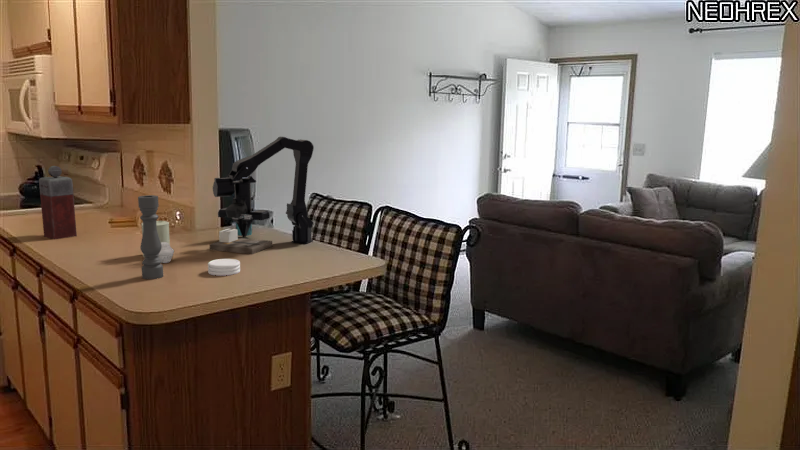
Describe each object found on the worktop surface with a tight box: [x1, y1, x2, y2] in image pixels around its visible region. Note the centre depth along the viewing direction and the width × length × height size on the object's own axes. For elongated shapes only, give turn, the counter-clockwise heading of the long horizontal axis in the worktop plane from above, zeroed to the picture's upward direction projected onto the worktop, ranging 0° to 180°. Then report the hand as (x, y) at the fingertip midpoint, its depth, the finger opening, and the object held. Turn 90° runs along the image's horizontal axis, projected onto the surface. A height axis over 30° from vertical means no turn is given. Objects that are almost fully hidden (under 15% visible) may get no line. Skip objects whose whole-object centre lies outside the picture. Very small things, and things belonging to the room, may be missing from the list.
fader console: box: [209, 237, 273, 255], centre depth 242 cm, size 18×14×2 cm
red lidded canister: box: [38, 165, 78, 240], centre depth 257 cm, size 9×11×28 cm
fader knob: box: [218, 228, 239, 243], centre depth 243 cm, size 4×6×4 cm, turn 161°
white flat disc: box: [207, 258, 241, 277], centre depth 207 cm, size 10×10×4 cm
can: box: [140, 220, 171, 258], centre depth 228 cm, size 9×9×12 cm
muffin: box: [158, 242, 175, 264], centre depth 219 cm, size 6×6×7 cm
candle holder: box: [137, 194, 164, 280], centre depth 199 cm, size 6×6×25 cm
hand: (244, 236), depth 241 cm, fingers closed
